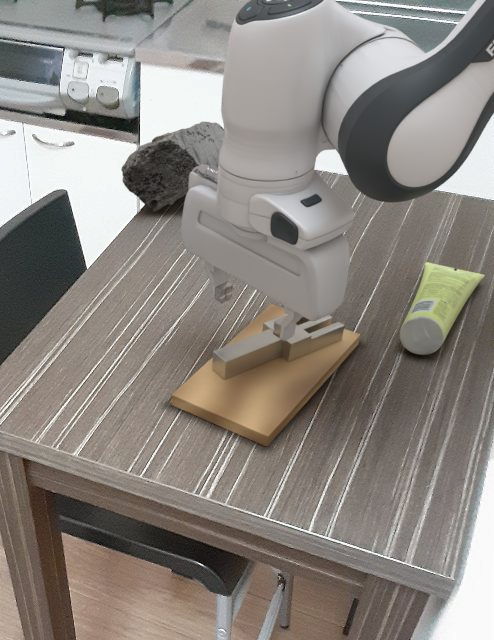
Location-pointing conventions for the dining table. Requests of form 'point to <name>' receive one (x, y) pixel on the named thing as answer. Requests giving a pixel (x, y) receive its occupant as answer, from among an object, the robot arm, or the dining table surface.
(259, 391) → the board
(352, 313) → the dining table surface
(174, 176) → the stone
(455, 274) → the tube
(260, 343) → the fork
